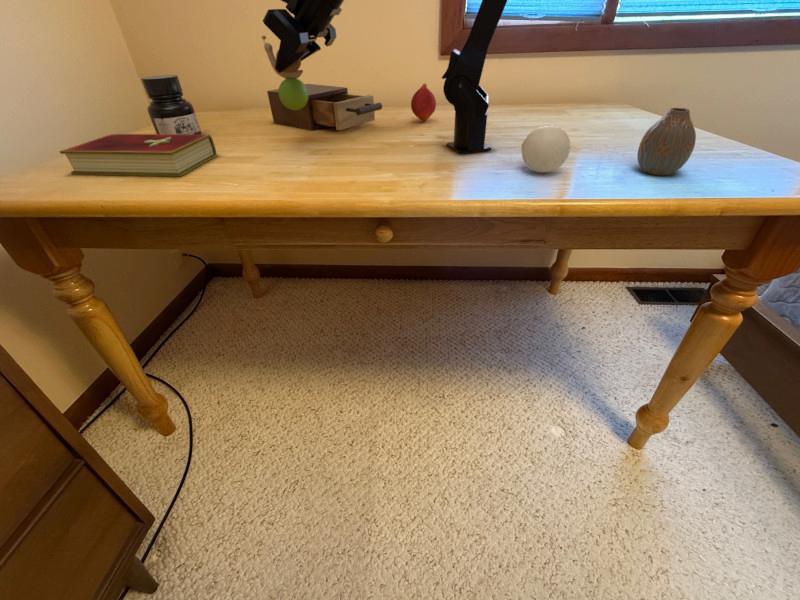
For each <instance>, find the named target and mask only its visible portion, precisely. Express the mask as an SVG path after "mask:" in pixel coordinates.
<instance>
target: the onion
mask: <svg viewBox="0 0 800 600" xmlns="http://www.w3.org/2000/svg"><path fill="white" fill-rule="evenodd" d="M410 107H411V112H412V113H413V114H414V115H415V117H416V118H417V119H419V120H420V121H421V122H426V121H428V119H429V118H430V117H431V116H432V115H433V114H434V113H435V111H436V108H437V100H436V97H435V95H434V94H433V92H432V91H431V89H429V88H428V86H427V83H423V84H422V85H421V87H419V88H418V89H417V91H415V93H414V94H413V96H412V97H411V101H410Z"/></svg>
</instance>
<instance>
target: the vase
mask: <svg viewBox="0 0 800 600" xmlns="http://www.w3.org/2000/svg"><path fill="white" fill-rule="evenodd" d="M696 139H697V134H696V129H695V126H694V124H693V122H692V119H691V111H690V109H688V108H684V107H671V108H669V109H668V111H667V112H666V113H665V114H664V115H663V116H662V117H661V118H660V119H659V120H657V121H655V123H653V124H652V125H651V126H650V127H649V128H648V129H647V131H646V132H645V133H644V135H643V136H642V138H641V140H640V143H639V146H638V149H637V164H638V166H639V168H640V169H641V171H642V172H644V173H646V174H649V175H653V176H670V175H672V174H674V173H676V172H677V171H679V170H680V169H681V168H682V167H684V165H685V164H687V162H688V161H689V159H690V158H691V156H692V154H693V152H694V149H695V146H696Z"/></svg>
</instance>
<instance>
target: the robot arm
mask: <svg viewBox="0 0 800 600" xmlns="http://www.w3.org/2000/svg"><path fill="white" fill-rule="evenodd" d="M280 1H281V2H283V3H285V4H286V5H285V8H273V9H267V11H266V13H265V15H264V17H263V19H262V23H263V24H264V25H265V26H266V28H267V29H269V30H270V32H271V33H273V34H274V35H275V37H276V38H277V39H278V40H280V41H279V48H278V50H279V52H278V56H277V61H276V66H275V69H276V70H277V71H278V72H279V73H281V72H283V71H284V70H285V69H287V68H288V67H290V66H291V65H292V64H294V63H295V62H297V61H298V60H299V59H301V62H303V61H304V60H306V59H307V58H309V57H311V56H313V55H314V54H315V53H317V52H319V51H321V50H322V47H321V46H320V45H319V44H318V43H317V42H316V41H317V39H319V38H323V39H324V40H325V41H324V45H325V46H326V47H331V46H332V45H333V43H334V42H335V40H336V39H337V30H336V28H335V26H333V24H332V23H331V22H332V21H333V20H334V17H335V16H339V15H340V14H341V12H342V11H343V9H342V8H341V6H342V5H343V3H344V1H345V0H280ZM507 2H508V0H481V2H480V6H479V8H478V11H477V13H476V16H475V19H474V21H473V24H472V27H471V29H470V32H469V35H468V38H467V39H466V42H465V43H464V45H463V47H462V49H461V50H458V49H457V48H453V49H452V50H451V52H450V56H449V60H448V65H447V68H446V71H445V72H444V73H443V75H442V76H441V79H442V80H444V79H445V80H444V82H443V86H442V87H443V88H442V89H443V94H444V97H445V100H446V101H447V102H448V103H449V104H451V105H452V106H453V109H454V129H453V141H450V142H446V147H448V148H450V149H451V150H453V151H454V152H456V153H457V154H460V155H463V154H471V153H472V154H473V153H479V152H487V151H492V148H493V147H492V146H490V145H489V144H487V143H485V142H486V133H487V123H488V122H487V121H488V109H489V106H490V101H489V100H490V97H489V94H488V93H487V92H486V91H485V90H484V89H483V87H482V86H481V85H480V82H481V78H482V75H483V71H484V66H485V61H486V57H487V53H488V49H489V47H490V45H491V41H492V39H493V37H494V34H495V32H496V29H497V27H498V24H499V22H500V20H501V17H502V14H503V12H504V9H505V7H506V5H507ZM292 14H293V15H292Z"/></svg>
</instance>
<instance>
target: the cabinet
mask: <svg viewBox="0 0 800 600" xmlns="http://www.w3.org/2000/svg"><path fill="white" fill-rule="evenodd" d="M304 85H305V86H306V88H307V91H308V101H307V103H306V105H305V106H304V107H303V108H302V109H300V110H291V109H288V108H287V107H285V106H284V105H283V103H282V102H281V100H280V98H279V93H278V91H279V88H276V89H271V90H270V89H269V90H267V91H266V94H267V97H268V102H269V107H270V111H271V115H272V120H273V123H274V124H278V125H283V126H289V127H292V128H293V127H294V128H299V129H304V130H308V131H314V130H318V129H321V128H325V127H328V126H327V125H321V124H316V123H313V116H312V110H311V103H310V99H314V98H318V97H323V96H328V95H333V94H338V93H342V94H349V89H348V87H343V86H336V85H335V86H334V85H323V84H313V83H304Z"/></svg>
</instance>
